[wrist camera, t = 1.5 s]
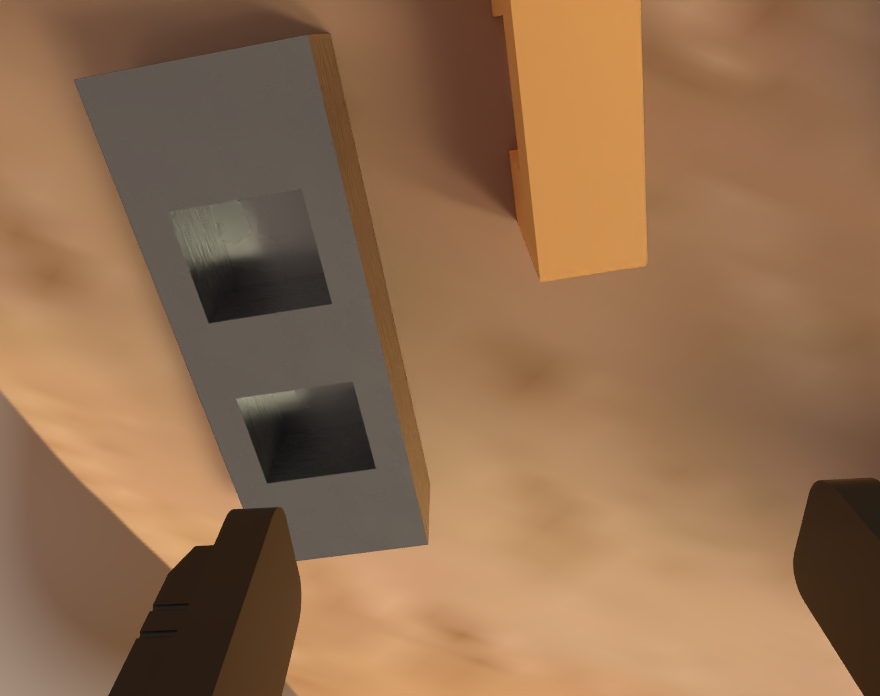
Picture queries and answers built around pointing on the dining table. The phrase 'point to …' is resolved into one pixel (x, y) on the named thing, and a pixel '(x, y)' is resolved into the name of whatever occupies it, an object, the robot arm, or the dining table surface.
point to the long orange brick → (577, 133)
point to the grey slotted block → (272, 283)
